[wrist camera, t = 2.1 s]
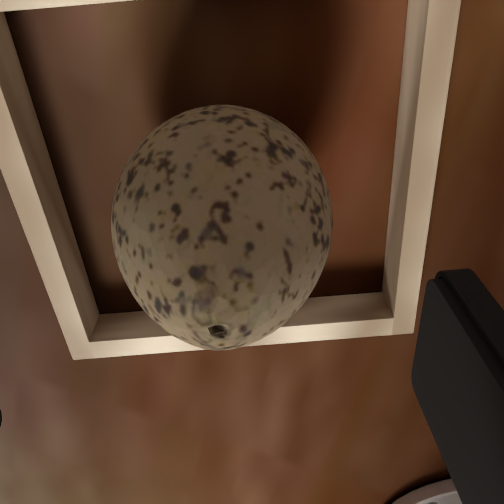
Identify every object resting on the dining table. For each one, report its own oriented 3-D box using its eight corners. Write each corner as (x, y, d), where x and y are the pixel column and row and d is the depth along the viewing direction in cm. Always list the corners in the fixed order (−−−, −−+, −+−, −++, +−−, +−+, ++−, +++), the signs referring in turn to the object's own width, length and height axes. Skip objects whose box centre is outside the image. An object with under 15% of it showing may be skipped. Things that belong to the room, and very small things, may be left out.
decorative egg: (214, 270, 22) (202, 462, 13) (101, 155, 19) (-8, 312, 10) (343, 182, 20) (426, 346, 11) (240, 38, 17) (246, 112, 8)
